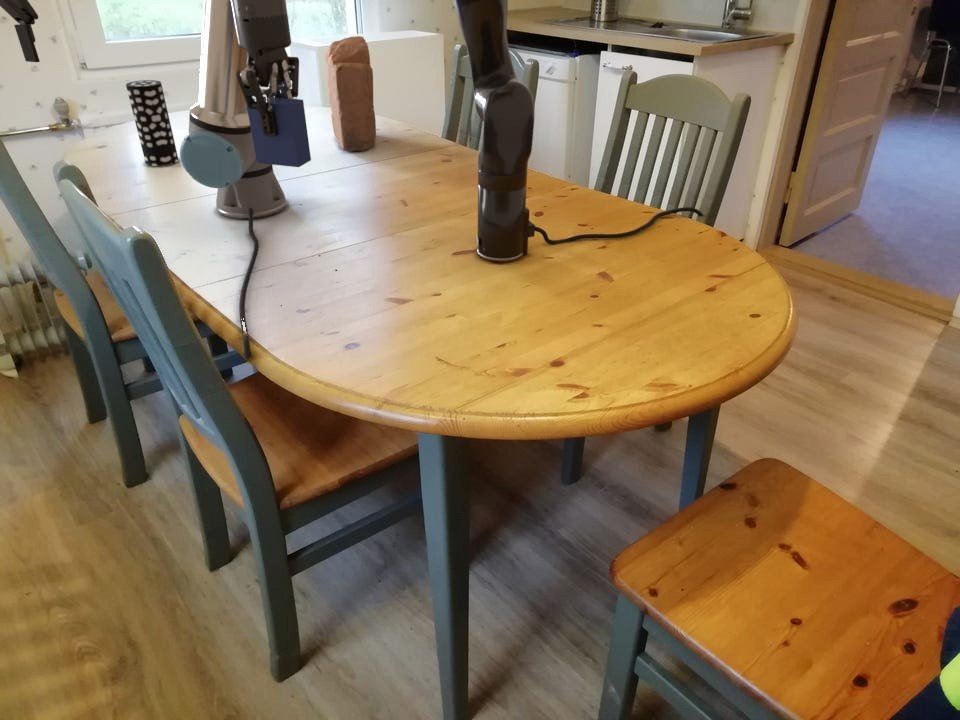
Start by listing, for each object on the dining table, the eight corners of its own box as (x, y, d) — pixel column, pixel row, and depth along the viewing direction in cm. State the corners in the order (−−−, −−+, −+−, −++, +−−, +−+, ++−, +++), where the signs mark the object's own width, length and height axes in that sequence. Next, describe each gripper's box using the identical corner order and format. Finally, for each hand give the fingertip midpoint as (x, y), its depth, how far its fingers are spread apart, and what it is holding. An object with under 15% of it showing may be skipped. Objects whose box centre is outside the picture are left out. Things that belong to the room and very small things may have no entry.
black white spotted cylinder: (184, 157, 190) (167, 80, 179) (169, 166, 183) (151, 87, 172) (155, 156, 190) (136, 79, 179) (139, 165, 183) (119, 86, 172)
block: (269, 156, 114) (260, 96, 109) (311, 160, 112) (303, 99, 107) (256, 163, 111) (245, 101, 106) (298, 167, 109) (289, 105, 104)
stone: (383, 150, 197) (374, 42, 182) (343, 153, 194) (332, 44, 179) (369, 134, 214) (360, 34, 200) (332, 137, 211) (321, 36, 197)
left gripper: (3, -67, 129) (41, 55, 141) (-132, -65, 109) (-75, 78, 121) (35, -66, 127) (70, 58, 139) (-97, -64, 107) (-43, 81, 119)
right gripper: (265, 5, 106) (282, 119, 116) (207, 16, 95) (231, 142, 104) (308, 7, 104) (322, 123, 114) (254, 18, 93) (275, 146, 102)
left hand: (3, 67), depth 130 cm, fingers open, 13 cm apart
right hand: (278, 131), depth 109 cm, fingers closed on block, 4 cm apart
